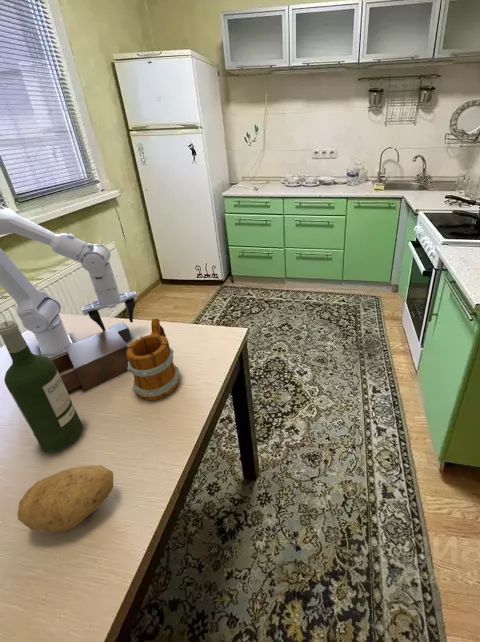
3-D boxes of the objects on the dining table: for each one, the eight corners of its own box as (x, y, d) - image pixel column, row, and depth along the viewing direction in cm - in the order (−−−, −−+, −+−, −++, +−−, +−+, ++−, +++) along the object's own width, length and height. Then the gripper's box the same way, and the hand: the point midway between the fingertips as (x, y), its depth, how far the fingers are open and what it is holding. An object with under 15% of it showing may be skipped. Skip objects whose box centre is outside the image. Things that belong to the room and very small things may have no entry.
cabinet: (84, 391, 83) (74, 368, 79) (73, 368, 90) (64, 346, 87) (134, 367, 90) (127, 345, 87) (120, 347, 98) (114, 327, 94)
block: (112, 338, 102) (108, 327, 100) (127, 332, 104) (123, 321, 102) (117, 345, 99) (113, 333, 97) (131, 338, 101) (128, 327, 99)
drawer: (24, 414, 75) (14, 397, 73) (19, 390, 82) (10, 372, 80) (100, 379, 85) (93, 362, 82) (89, 359, 92) (83, 343, 89)
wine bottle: (86, 438, 70) (34, 325, 57) (43, 460, 66) (-25, 344, 53) (80, 415, 76) (31, 307, 63) (39, 434, 72) (-22, 323, 58)
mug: (129, 404, 78) (112, 356, 72) (149, 358, 93) (136, 315, 86) (174, 400, 79) (162, 352, 72) (187, 355, 94) (177, 312, 87)
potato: (117, 524, 55) (104, 497, 52) (21, 557, 52) (0, 530, 48) (124, 470, 64) (113, 444, 60) (41, 495, 60) (25, 469, 56)
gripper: (78, 300, 87) (93, 341, 93) (135, 284, 94) (145, 322, 100) (75, 290, 92) (90, 329, 98) (129, 275, 99) (140, 312, 105)
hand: (118, 325), depth 99 cm, fingers open, 7 cm apart
